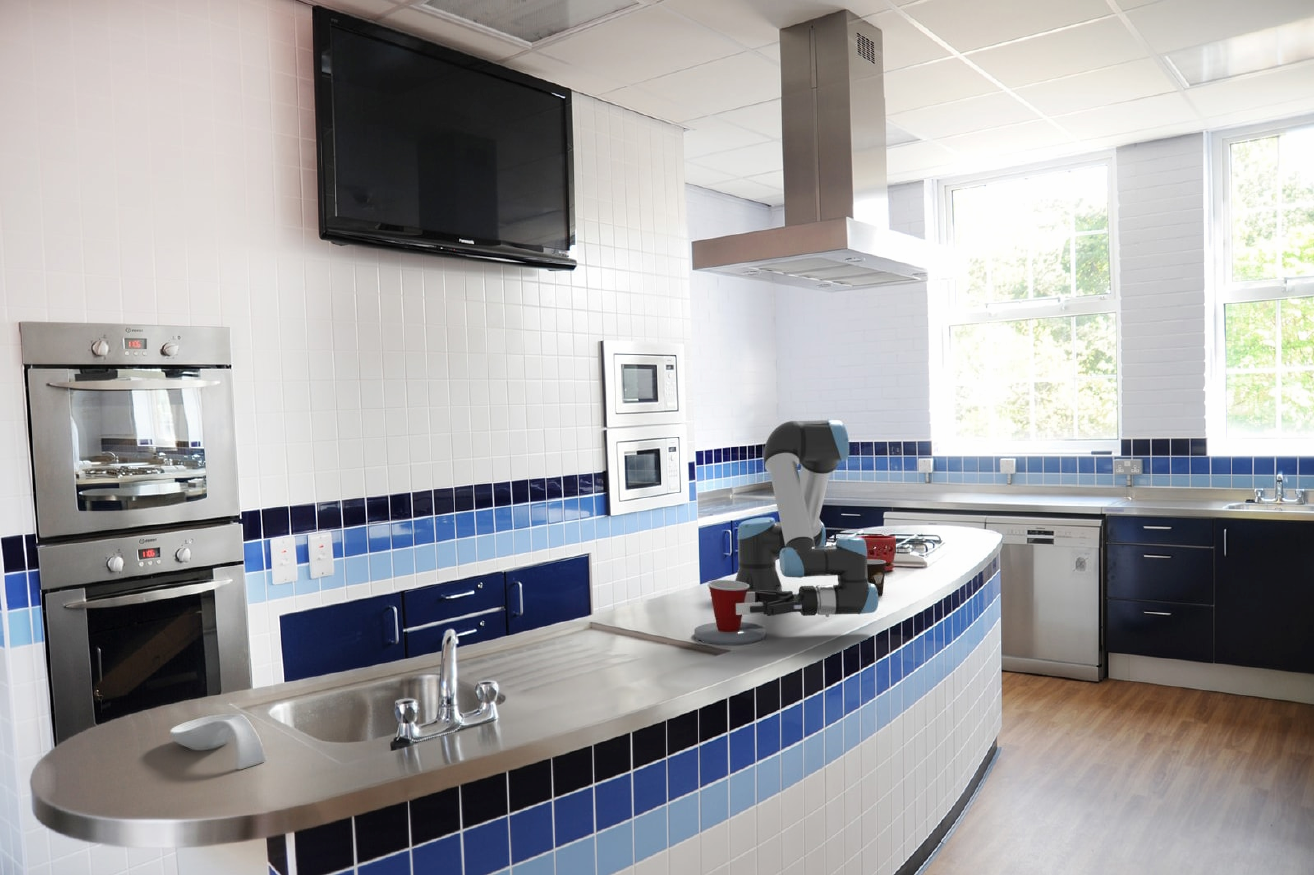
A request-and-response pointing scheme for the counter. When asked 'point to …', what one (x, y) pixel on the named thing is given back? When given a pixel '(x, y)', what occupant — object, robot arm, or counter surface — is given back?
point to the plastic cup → (727, 603)
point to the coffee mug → (876, 574)
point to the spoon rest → (222, 736)
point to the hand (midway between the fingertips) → (732, 603)
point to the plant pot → (881, 548)
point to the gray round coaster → (730, 634)
